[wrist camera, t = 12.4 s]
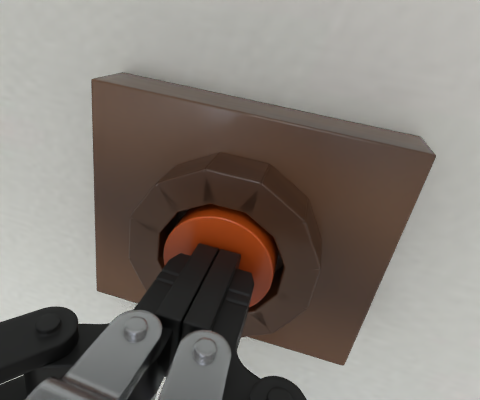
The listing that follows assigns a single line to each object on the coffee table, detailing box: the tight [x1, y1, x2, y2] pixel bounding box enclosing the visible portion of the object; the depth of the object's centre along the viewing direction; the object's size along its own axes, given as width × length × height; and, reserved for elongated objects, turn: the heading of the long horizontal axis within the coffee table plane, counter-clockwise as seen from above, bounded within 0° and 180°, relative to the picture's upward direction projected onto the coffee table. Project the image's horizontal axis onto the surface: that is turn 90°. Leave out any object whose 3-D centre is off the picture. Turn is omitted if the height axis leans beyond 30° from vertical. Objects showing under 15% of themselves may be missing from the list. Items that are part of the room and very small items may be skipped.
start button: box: [164, 204, 279, 307], centre depth 13 cm, size 4×4×2 cm
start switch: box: [91, 72, 436, 365], centre depth 15 cm, size 10×12×4 cm
